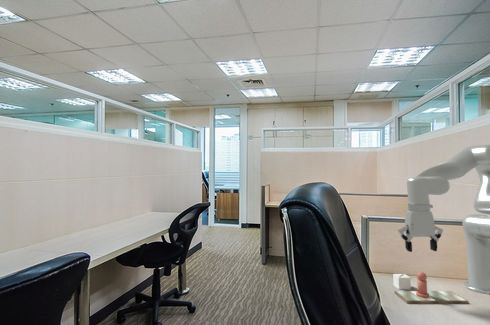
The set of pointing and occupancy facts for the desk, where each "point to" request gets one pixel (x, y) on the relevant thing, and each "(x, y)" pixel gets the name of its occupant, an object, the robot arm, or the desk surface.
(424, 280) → the pawn
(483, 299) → the desk surface
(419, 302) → the board
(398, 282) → the die
